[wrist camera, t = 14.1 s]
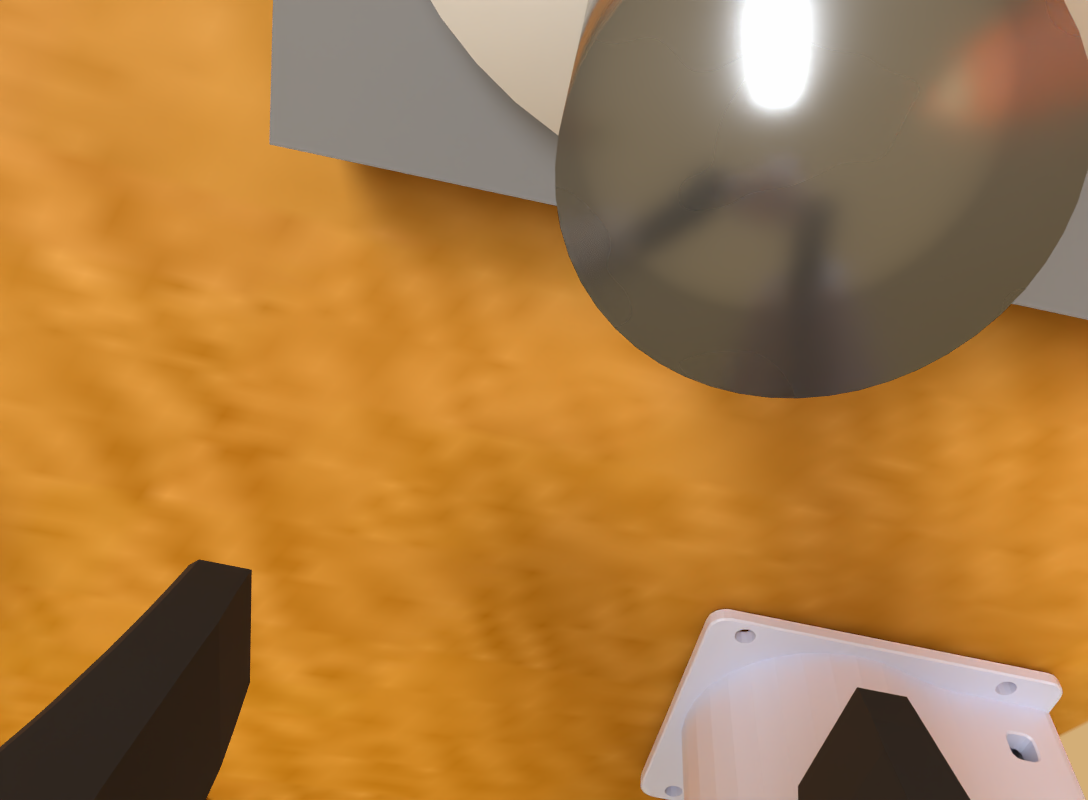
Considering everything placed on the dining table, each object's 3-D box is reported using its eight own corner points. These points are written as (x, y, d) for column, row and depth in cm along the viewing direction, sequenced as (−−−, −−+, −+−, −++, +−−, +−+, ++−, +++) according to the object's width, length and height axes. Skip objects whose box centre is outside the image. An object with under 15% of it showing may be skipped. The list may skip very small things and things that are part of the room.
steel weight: (986, -94, 12) (1219, 9, 7) (823, 215, 15) (916, 450, 10) (655, -221, 12) (664, -200, 7) (546, 122, 14) (495, 318, 9)
